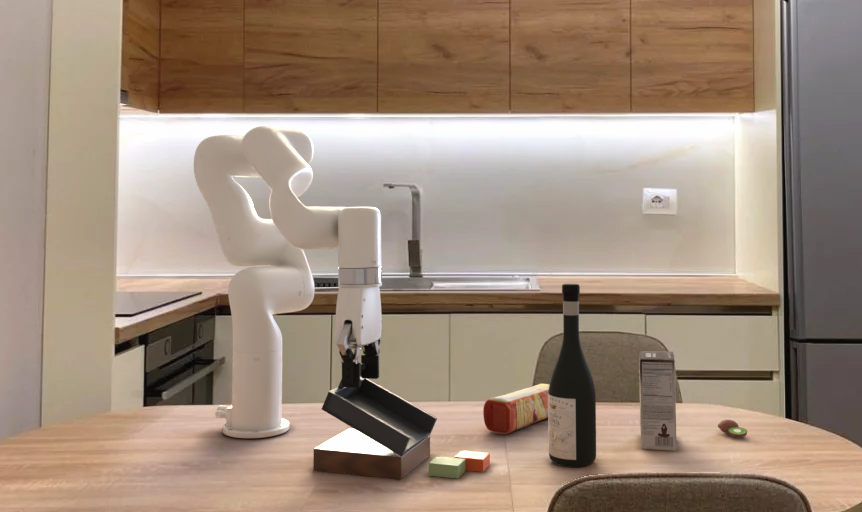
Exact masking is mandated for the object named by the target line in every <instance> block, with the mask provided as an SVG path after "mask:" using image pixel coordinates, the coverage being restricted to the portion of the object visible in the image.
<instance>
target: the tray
mask: <svg viewBox="0 0 862 512" xmlns="http://www.w3.org/2000/svg"><path fill="white" fill-rule="evenodd" d="M360 363H361V362H360ZM365 370H366V365H365V364H364V363H361V375H362V373H363V371H365ZM321 406H322V407H321V410H322V411H323V412H325V413H327V414H328V415H330V416H332V417H334V418H335V419H337V420H339V421H340V422H342V423H344V424H345V425H347V426H349V427H350V428H351V429H356V430H357V431H359V432H361V433H362V434H364V435H366V436H368V437H369V438H371V439H373V440H374V441H376V442H378V443H379V444H381V445H383V446H384V447H386V448H388V449H389V450H391V451H393V452H395V453H396V454H398V455H400V456H402V455H404V454H405V453H406V452H408V451H409V450H410V449H412V448H413V447H414V446H416V445H417V444H418V443H420V442H421V441H422V440H424V439H425V438H426V437H428V436H429V435H430V436H431V435H432V432H433V429H434V427H435V425H436V422H437V419H438V417H437V416H435V415H433V414H432V413H430V412H428V411H426V410H424V409H423V408H421V407H419V406H417V405H415V404H414V403H412V402H410V401H408V400H406V399H405V398H403V397H401V396H399V395H398V394H397V393H394V392H393V391H391V390H389V389H387V388H385V387H384V386H382V385H381V384H379V383H377V382H374V381H373V380H372V379H366V378H362V377H361V386H360V387H358V388H355V387H343V386H342V378H341V379H340V382H339V384H338V386H337V387H335V388H333V389H331V390H329V391H328V392H327V395H326V397H325V399H324V402H323V404H322V405H321Z"/></svg>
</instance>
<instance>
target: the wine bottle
mask: <svg viewBox="0 0 862 512" xmlns="http://www.w3.org/2000/svg"><path fill="white" fill-rule="evenodd" d="M580 289H581V287H580V284H578V283H563V284H561V294H562V311H563V312H562V316H563V319H562V320H563V324H562V325H563V326H562V327H563V328H562V329H563V336H562V342H561V347H560V350H559V353H558V356H557V358H556V362H555V364H554V367H553V369H552V372H551V375H550V379H549V383H548V384H549V391H548V418H547V420H548V423H547V425H548V457H549V460H550V461H551V462H553V463H554V464H555V465H558V466H561V467H567V468H583V467H588V466H590V465H592V464H593V463H594V462H595V461H596V459H597V408H596V407H597V403H596V402H597V400H596V399H597V398H596V397H597V396H596V395H597V394H596V389H595V384H594V379H593V376H592V373H591V370H590V367H589V365H588V362H587V360H586V357H585V355H584V352H583V349H582V344H581V340H580V339H581V338H580V323H579V322H580V293H581V290H580Z"/></svg>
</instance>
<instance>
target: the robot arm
mask: <svg viewBox="0 0 862 512" xmlns="http://www.w3.org/2000/svg"><path fill="white" fill-rule="evenodd" d="M313 158H314V144H313V141H312V139H311V137H310V136H309V135H308V134H307V133H306V132H305V131H304V130H301V129H299V128H294V127H293V128H292V127H283V126H272V125H271V126H270V125H262V126H257V127H254V128H252V129H249V130H248V132H246V133H245V135H244V136H242V135H231V134H220V135H211V136H209V137H206V138H204V139H202V140H201V141H200V142H199V144H198V145H197V147H196V149H195V152H194V157H193V174H194V180H195V182H196V184H197V187H198V189H199V192H200V193H201V195H202V197H203V199H204V201H205V203H206V205H207V207H208V209H209V212H210V214H211V217H212V221H213V224H214V228H215V231H216V235H217V238H218V241H219V244H220V248H221V250H222V253H223V255H224V257H225V260H226V261H227V262H228V263H229V264H230V265H233V266H236V267H247V268H243V269H241V270H239V271H236V273H235V274H234V275H233V276H232V277H231V278H230V280H229V283H228V288H227V295H228V302H229V308H230V314H231V325H232V326H231V327H232V369H231V371H232V372H231V405H229V406H228V405H218V407H217V409H216V411H215V414H214V415H215V418H218V419H225V420H226V421H225V422H226V423H224V425H222V433H223V434H224V435H225V436H226V437H231V438H234V439H235V438H236V439H263V438H270V437H274V436H279V435H282V434H284V433H286V432H288V431H289V429H290V421H289V420H287V419H285V418H282V417H283V415H282V413H283V411H282V410H283V335H282V331H281V328H280V327H279V325H278V324H277V322H276V319H275V318H274V317H273V315H278V314H287V313H296V312H301V311H303V310H305V309H307V308H308V307H309V306H310V305H311V304H312V303H313V301H314V298H315V293H316V292H315V291H316V287H315V280H314V276H313V273H312V270H311V267H310V264H309V262H308V259H307V256H306V253H305V250H322V249H325V250H326V249H329V250H331V249H338V250H337V254H338V255H337V257H338V258H337V263H338V264H337V265H338V266H337V270H338V271H337V273H338V274H337V276H338V277H337V283H338V285H337V287H338V292H337V297H336V307H335V323H334V324H335V325H334V344H335V345H336V346H337V349H338V353H339V355H340V363H341V379H342V386H343V387H355V388H358V387H360V386H361V377H362V378H366V379H370V380H377V379H379V378H380V353H381V349H380V344H381V338H382V333H383V326H382V325H383V316H382V315H383V313H382V300H381V290H380V287H382V286H383V267H382V266H383V263H382V261H383V259H382V258H383V257H382V256H383V255H382V254H383V253H382V251H383V249H382V248H383V247H382V246H383V245H382V214H381V213H382V212H381V211H380V210H379V209H378V208H377V207H374V206H348V207H347V206H306V205H305V204H304V203H303V202H301V200H300V199H299V197H301V196H302V195H303V194H305V193H306V192H307V190H308V189H309V188H310V186H311V184H312V182H313V178H314V173H313V170H312V167H311V166H310V164H311V162H312V161H313ZM234 177H237V178H239V177H240V178H261V180H262V181H263V182H264V183H265V185H266V186H267V187H268V188H269V189H270V191H271V192H270V195H269V201H268V202H269V203H268V204H269V213H270V217H271V218H261V217H260V216H258V214H257V211H256V209H255V207H254V202H253V201H252V198H251V197H250V195H249V194H248V192H247V191H246V189H244V187H243V186H242V185H241V184H239V182H237V180H235V179H234ZM352 350H354V351H352ZM361 351H362V354H361ZM360 354H361V355H360ZM359 359H360V362H359ZM361 363H364V364H365V365H366V370H365V371H363V373H362V375H361Z"/></svg>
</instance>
